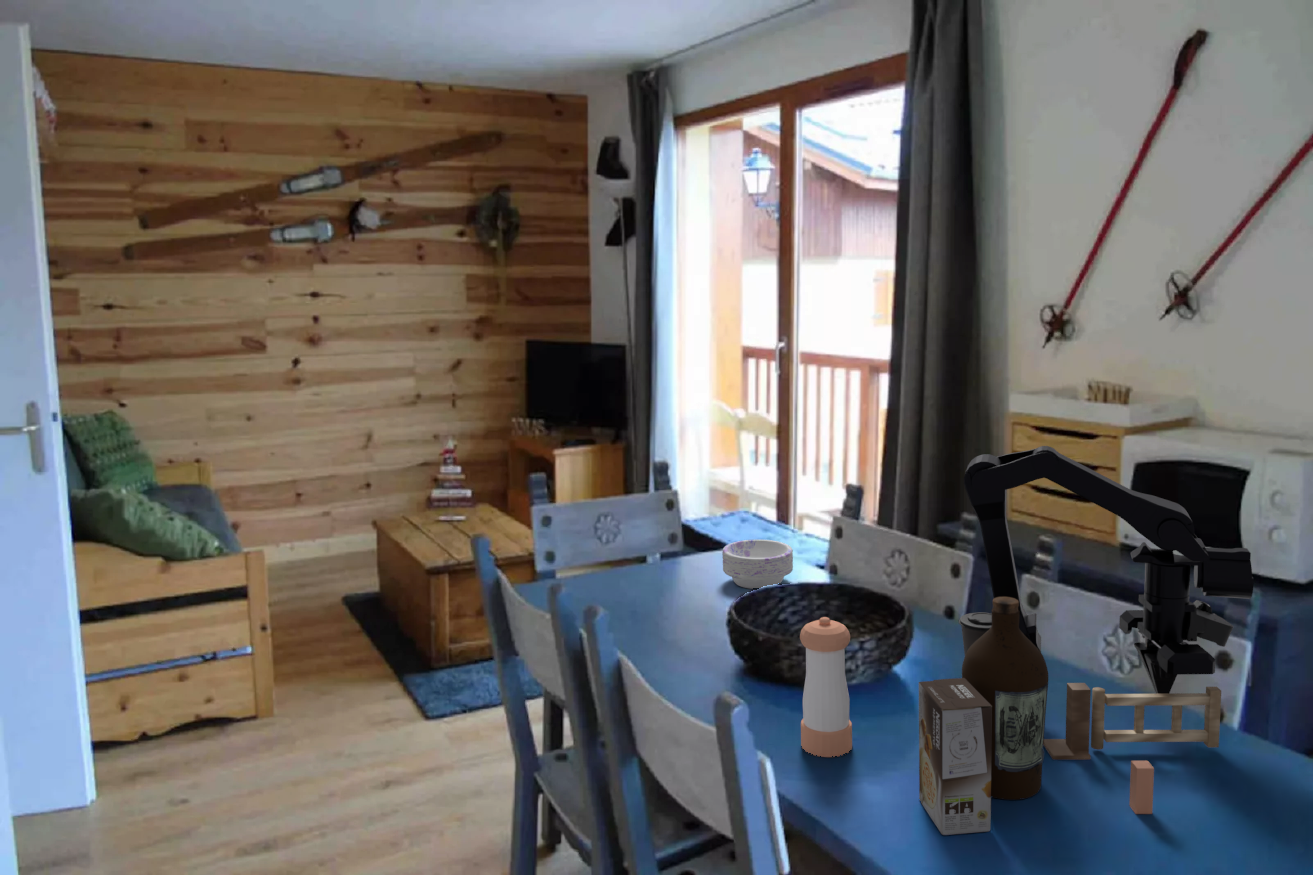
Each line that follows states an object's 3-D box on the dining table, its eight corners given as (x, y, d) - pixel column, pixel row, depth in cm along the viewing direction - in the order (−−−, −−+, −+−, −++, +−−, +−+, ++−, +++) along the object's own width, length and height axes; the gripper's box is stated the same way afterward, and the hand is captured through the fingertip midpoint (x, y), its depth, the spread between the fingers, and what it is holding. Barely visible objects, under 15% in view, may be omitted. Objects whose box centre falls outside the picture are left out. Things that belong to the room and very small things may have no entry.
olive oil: (946, 770, 141) (947, 592, 137) (1016, 759, 143) (1019, 584, 139) (988, 808, 130) (990, 618, 126) (1063, 796, 133) (1067, 608, 129)
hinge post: (1052, 759, 142) (1054, 694, 141) (1042, 743, 147) (1043, 679, 146) (1091, 759, 142) (1093, 693, 140) (1080, 742, 147) (1081, 679, 145)
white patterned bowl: (783, 596, 217) (783, 559, 216) (714, 591, 222) (713, 555, 221) (800, 575, 231) (799, 540, 230) (734, 571, 236) (733, 537, 235)
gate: (1093, 749, 143) (1094, 692, 142) (1089, 744, 145) (1090, 687, 144) (1218, 749, 142) (1221, 691, 141) (1213, 743, 144) (1216, 686, 142)
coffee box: (993, 832, 125) (994, 706, 123) (941, 836, 125) (942, 710, 122) (964, 794, 134) (965, 676, 132) (916, 798, 134) (916, 680, 131)
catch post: (1135, 814, 128) (1137, 768, 127) (1129, 805, 130) (1131, 760, 129) (1152, 814, 128) (1154, 768, 127) (1145, 805, 130) (1147, 760, 129)
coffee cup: (955, 680, 170) (955, 621, 169) (960, 662, 178) (960, 606, 176) (1007, 685, 167) (1008, 626, 166) (1010, 667, 175) (1011, 610, 173)
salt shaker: (855, 737, 151) (854, 611, 148) (848, 760, 145) (846, 628, 142) (806, 732, 154) (804, 607, 151) (796, 754, 147) (793, 624, 144)
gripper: (1259, 614, 136) (1253, 726, 139) (1197, 572, 155) (1192, 672, 157) (1171, 615, 137) (1166, 726, 140) (1119, 573, 155) (1116, 672, 158)
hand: (1162, 697), depth 149 cm, fingers closed
